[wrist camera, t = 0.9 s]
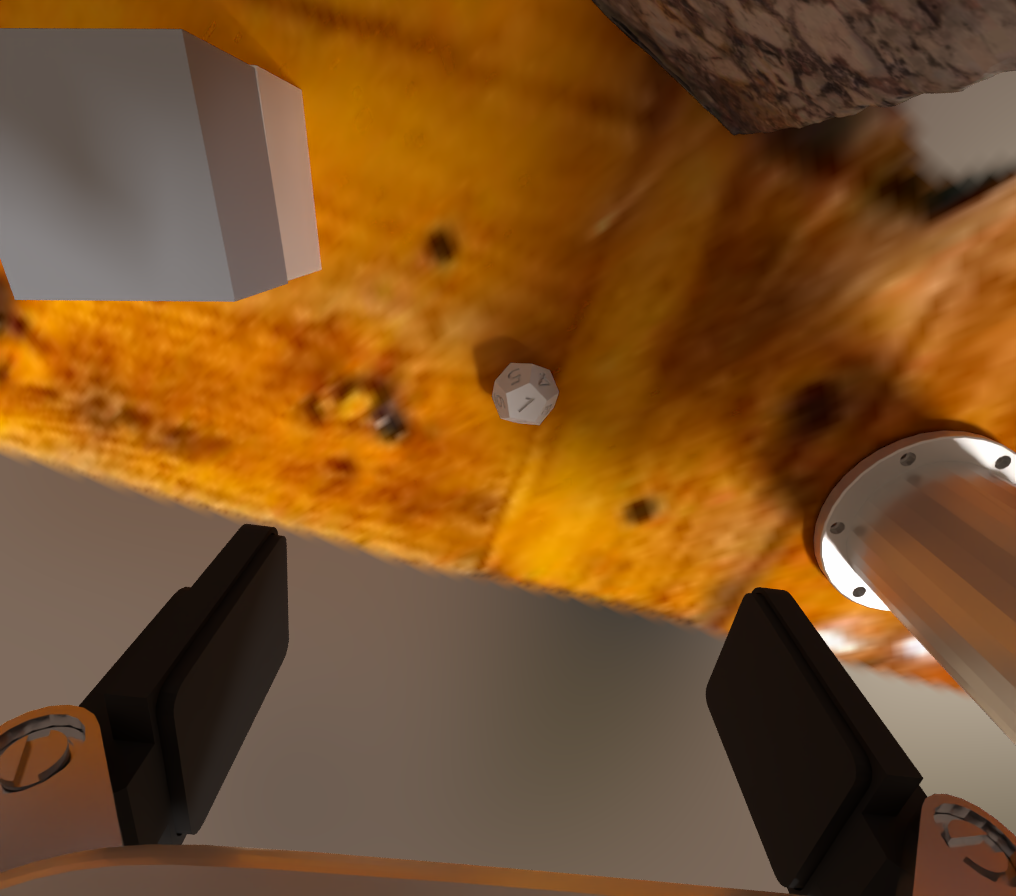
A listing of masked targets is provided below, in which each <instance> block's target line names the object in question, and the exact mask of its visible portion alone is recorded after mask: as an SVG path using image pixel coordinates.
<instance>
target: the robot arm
mask: <svg viewBox="0 0 1016 896" xmlns="http://www.w3.org/2000/svg"><path fill="white" fill-rule="evenodd" d="M286 547H287V545H286V538H285V537H284V536H279V535H278V532H277V529H276V528H275V527H268V526H260V525H251V524H244V525H243V526H242V527H240V529H239V530H238V531H237V532H236V534H235V535H234V536H233V537H232V539H231V540H230V541H229V542H228V543H227V544H226V546H225V547H224V548H223V549H222V550H221V552H220V553H219V554H218V555H217V557H216V558H215V559H214V560H213V561H212V563H211V564H210V565H209V566H208V567H207V569H206V570H205V571H204V572H203V574H202V575H201V576H200V577H199V578H198V580H197V581H196V582H195V583H194V584H193V586H192V587H184V588H182V589H180V590H178V592H176V593H175V594H174V595H173V596H172V597H171V599H170V600H169V601H168V602H167V603H166V605H165V606H164V607H163V608H162V609H161V610H160V612H159V613H158V614H157V615H156V616H155V618H154V619H153V620H152V621H151V622H150V623H149V624H148V626H147V627H146V628H145V629H144V630H143V631H142V633H141V634H140V635H139V636H138V637H137V639H136V640H135V641H134V642H133V643H132V644H131V645H130V647H129V648H128V649H127V650H126V651H125V652H124V654H123V655H122V656H121V657H120V658H119V660H118V661H117V662H116V663H115V664H114V666H113V667H112V668H111V669H110V670H109V671H108V672H107V674H106V675H105V676H104V677H103V678H102V679H101V681H100V682H99V683H98V684H97V685H96V687H95V688H94V689H93V690H92V691H91V692H90V693H89V695H88V696H87V697H86V698H85V699H84V700H83V702H82V703H81V704H80V705H79V706H72V705H59V706H48V707H45V708H41V709H38V710H33V711H30V712H27V713H25V714H23V715H20V716H18V717H16V718H14V719H12V720H9V721H7V722H6V723H4V724H3V725H1V726H0V896H1016V836H1015V835H1014V834H1013V833H1012V832H1011V831H1010V830H1008V829H1007V828H1006V827H1005V826H1004V825H1003V824H1002V823H1000V822H999V821H998V820H997V819H995V818H994V817H993V816H991V815H989V814H988V813H987V812H985V811H984V810H983V809H981V808H980V807H978V806H976V805H974V804H972V803H970V802H968V801H966V800H964V799H962V798H958V797H955V796H952V795H948V794H933V795H931V796H929V797H927V796H926V794H925V793H924V791H923V790H922V789H921V787H920V786H919V784H920V782H921V781H922V779H923V777H922V776H921V774H920V773H919V771H918V770H917V769H916V767H915V766H914V765H913V763H912V762H911V761H910V759H909V758H908V756H907V755H906V753H905V752H904V751H903V749H902V748H901V747H900V745H899V744H898V742H897V741H896V740H895V738H894V737H893V736H892V734H891V733H890V731H889V730H888V729H887V727H886V726H885V724H884V723H883V722H882V720H881V719H880V717H879V716H878V715H877V713H876V712H875V711H874V709H873V708H872V707H871V705H870V704H869V702H868V701H867V700H866V698H865V697H864V695H863V694H862V693H861V691H860V690H859V688H858V687H857V686H856V684H855V683H854V681H853V680H852V679H851V677H850V676H849V675H848V673H847V672H846V671H845V669H844V668H843V666H842V665H841V663H840V662H839V661H838V659H837V658H836V657H835V655H834V654H833V652H832V651H831V650H830V648H829V647H828V646H827V644H826V643H825V641H824V640H823V639H822V637H821V636H820V634H819V633H818V632H817V630H816V629H815V628H814V626H813V625H812V623H811V622H810V621H809V619H808V618H807V616H806V615H805V614H804V612H803V611H802V610H801V608H800V607H799V605H798V604H797V603H796V601H795V600H794V598H793V597H792V596H791V595H790V594H789V593H788V592H787V591H785V590H778V589H770V588H761V587H758V588H755V589H754V590H753V591H752V593H748V594H746V595H745V596H744V598H743V599H742V602H741V604H740V607H739V609H738V612H737V614H736V616H735V619H734V621H733V624H732V626H731V629H730V631H729V633H728V636H727V638H726V641H725V643H724V646H723V648H722V651H721V653H720V655H719V658H718V660H717V663H716V665H715V668H714V670H713V673H712V675H711V677H710V680H709V682H708V684H707V688H706V701H707V705H708V708H709V710H710V713H711V715H712V718H713V720H714V723H715V725H716V728H717V731H718V733H719V736H720V738H721V740H722V743H723V746H724V748H725V750H726V753H727V756H728V758H729V761H730V763H731V766H732V768H733V771H734V773H735V776H736V778H737V781H738V783H739V786H740V788H741V791H742V793H743V796H744V798H745V801H746V804H747V806H748V808H749V811H750V814H751V816H752V819H753V821H754V824H755V826H756V829H757V831H758V833H759V836H760V839H761V841H762V844H763V846H764V849H765V851H766V854H767V856H768V859H769V861H770V864H771V866H772V869H773V871H774V874H775V876H776V878H777V880H778V881H779V882H780V884H781V885H782V886H784V887H787V889H788V891H789V894H785V893H775V892H765V891H754V890H743V889H733V888H722V887H711V886H700V885H689V884H680V883H669V882H658V881H648V880H637V879H625V878H613V877H603V876H591V875H581V874H569V873H558V872H546V871H535V870H523V869H512V868H500V867H489V866H478V865H466V864H454V863H442V862H430V861H418V860H406V859H393V858H381V857H369V856H357V855H344V854H333V853H332V854H331V853H320V852H308V851H292V850H276V849H260V848H245V847H244V848H243V847H229V846H213V845H182V843H183V841H184V839H185V837H186V835H187V834H193V835H194V834H196V833H197V832H198V831H199V830H200V828H201V826H202V824H203V823H204V820H205V819H206V817H207V815H208V813H209V811H210V808H211V807H212V805H213V802H214V800H215V798H216V796H217V794H218V792H219V790H220V788H221V786H222V784H223V782H224V780H225V778H226V776H227V774H228V772H229V770H230V768H231V766H232V764H233V762H234V760H235V758H236V756H237V754H238V751H239V750H240V747H241V746H242V744H243V741H244V739H245V737H246V735H247V733H248V731H249V729H250V727H251V725H252V723H253V721H254V719H255V717H256V715H257V713H258V711H259V709H260V707H261V705H262V703H263V701H264V699H265V696H266V694H267V693H268V691H269V689H270V687H271V685H272V682H273V680H274V678H275V676H276V674H277V672H278V670H279V668H280V666H281V664H282V662H283V660H284V658H285V655H286V652H287V648H288V642H289V630H288V590H287V589H288V588H287V548H286ZM814 550H815V556H816V559H817V562H818V565H819V567H820V569H821V571H822V572H823V573H824V575H825V576H826V578H827V579H828V580H829V581H830V583H831V584H832V585H833V586H834V587H835V588H836V589H837V590H838V591H839V592H840V593H841V594H842V595H844V596H845V597H847V598H848V599H849V600H851V601H853V602H856V603H858V604H861V605H863V606H866V607H869V608H874V609H880V610H888V611H891V612H892V613H893V614H894V615H895V616H896V617H897V618H898V619H899V620H900V622H901V623H902V624H903V625H904V626H905V627H906V628H907V629H908V630H909V631H910V632H911V633H912V634H913V636H914V637H915V638H916V639H917V640H918V641H919V642H920V643H921V644H922V645H923V646H924V647H925V648H926V650H927V651H928V652H929V653H930V654H931V655H932V656H933V657H934V658H935V659H936V660H937V661H938V662H939V664H940V665H941V666H942V667H943V668H944V669H945V670H946V671H947V672H948V673H949V674H950V675H951V676H952V678H953V679H954V680H955V681H956V682H957V683H958V684H959V685H960V686H961V687H962V688H963V689H964V690H965V692H966V693H967V694H968V695H969V696H970V697H971V698H972V699H973V700H974V701H975V702H976V703H977V704H978V705H979V706H980V708H981V709H982V710H983V711H984V712H985V713H986V714H987V715H988V716H989V717H990V718H991V719H992V721H993V722H995V724H996V725H997V726H998V727H999V728H1000V729H1001V730H1002V731H1003V732H1004V733H1005V735H1006V736H1007V737H1008V738H1009V739H1010V740H1011V741H1012V742H1013V743H1014V744H1015V745H1016V453H1015V452H1013V451H1012V450H1010V449H1009V448H1007V447H1006V446H1004V445H1003V444H1000V443H998V442H996V441H994V440H992V439H989V438H987V437H985V436H983V435H979V434H974V433H970V432H966V431H945V430H943V431H936V432H928V433H921V434H918V435H915V436H911V437H908V438H905V439H901V440H899V441H896V442H894V443H892V444H890V445H888V446H886V447H883V448H881V449H879V450H878V451H876V452H875V453H873V454H872V455H870V456H868V457H867V458H865V459H864V460H862V461H861V462H860V463H858V464H857V465H856V466H855V467H854V468H853V469H852V470H850V471H849V472H848V473H847V474H846V475H845V476H844V477H843V478H842V479H841V480H840V482H839V483H838V484H837V485H836V486H835V487H834V489H833V490H832V491H831V493H830V494H829V496H828V498H827V499H826V501H825V503H824V504H823V506H822V508H821V511H820V513H819V516H818V519H817V522H816V525H815V532H814Z"/></svg>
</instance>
